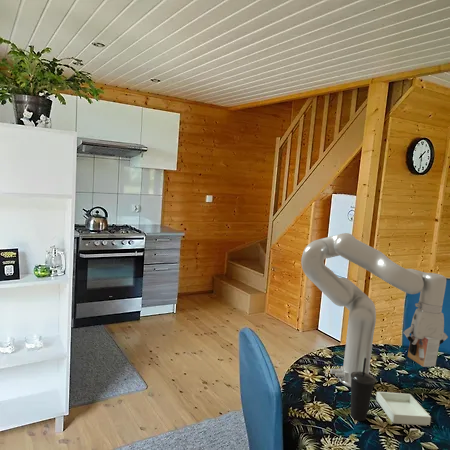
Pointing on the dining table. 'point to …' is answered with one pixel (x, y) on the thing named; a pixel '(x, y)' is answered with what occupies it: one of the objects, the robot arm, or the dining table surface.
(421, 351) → the small box
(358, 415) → the drinking cup
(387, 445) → the dining table surface
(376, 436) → the dining table surface
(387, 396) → the tray
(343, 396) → the dining table surface
